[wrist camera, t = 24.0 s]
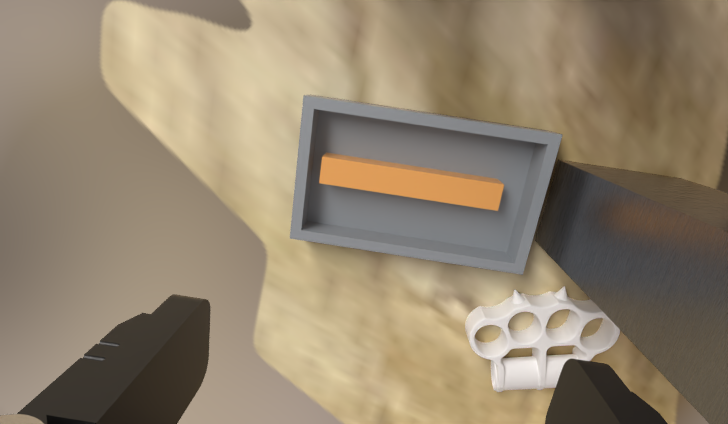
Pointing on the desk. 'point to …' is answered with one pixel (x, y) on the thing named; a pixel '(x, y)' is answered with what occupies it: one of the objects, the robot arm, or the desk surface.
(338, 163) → the orange block
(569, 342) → the white brass knuckles
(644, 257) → the cabinet
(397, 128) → the tray
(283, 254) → the desk surface
